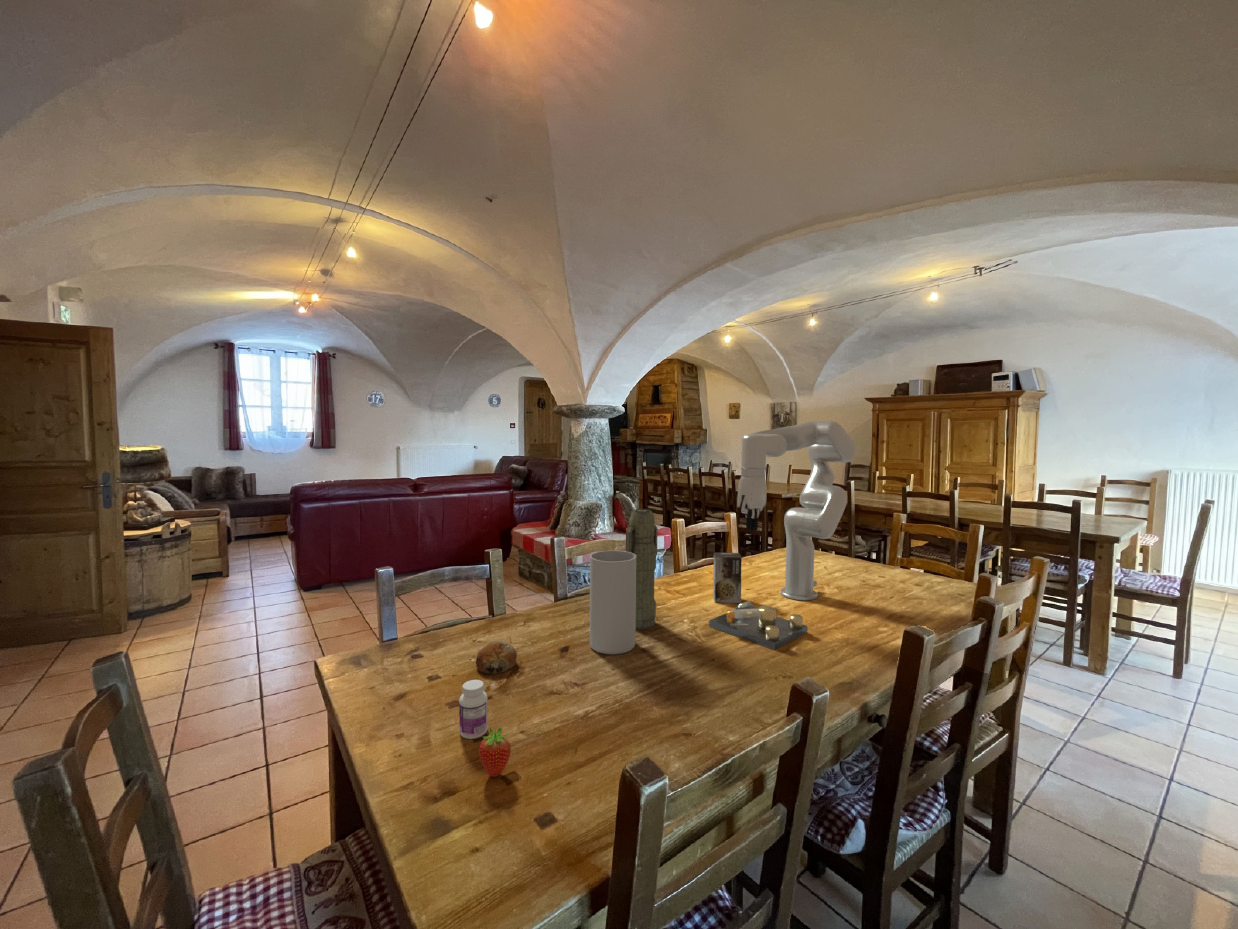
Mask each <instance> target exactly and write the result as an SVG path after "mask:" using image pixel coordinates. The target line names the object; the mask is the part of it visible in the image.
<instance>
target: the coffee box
mask: <svg viewBox="0 0 1238 929" xmlns="http://www.w3.org/2000/svg"><path fill="white" fill-rule="evenodd" d="M712 584H713V585H712V586H713V588H712V589H713V594H712V596H713V601H714V603H719V604H720V603H722V604H723V603H725V604H726V603H727V604H729V603H730V604H742V556H741V554H740V553H739V552H713V583H712Z"/></svg>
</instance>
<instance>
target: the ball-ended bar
mask: <svg viewBox="0 0 1238 929" xmlns="http://www.w3.org/2000/svg"><path fill="white" fill-rule="evenodd" d="M726 613H727V622H728V623H735V618H757V617H758V626H759V627H761V628H765V629H766V626H769V625H772V626H776V616H777V608H775V607H774V606H770V605H769V606H768V605H761V606H759V607H757V608H754V609H736V608H734V609H728V610H726Z"/></svg>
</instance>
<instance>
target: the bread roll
mask: <svg viewBox="0 0 1238 929" xmlns="http://www.w3.org/2000/svg"><path fill="white" fill-rule="evenodd" d="M517 658H518V653H517V651H516V649H515V648H514V646H513V645H512V644H510V643H509V642H507V641H505V640H503V639H492V640H491V639H490V640H489V641H488V642H486V643H485V645H483V646H482V647H481V648H480V649H479V650H478V651H477V654H476V657H475V659H476V660H475V661H476V662H475V665H476V666H475V667H476V669H478V671H479V672H481V673H482V674H491V675H495V674H500V673H505V672H507V671H509V670H511V669H513V667H515V665H516V662H517Z"/></svg>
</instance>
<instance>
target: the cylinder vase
mask: <svg viewBox="0 0 1238 929" xmlns="http://www.w3.org/2000/svg"><path fill="white" fill-rule="evenodd" d="M636 630H637V629H636V555H635V554H633V553H630V552H626V550H601V551H595V552H593V553H591V554H590V555H589V645H590V648H591V649H592V650H593V651H595V652H597V653H600V654H604V655H621V654H625V653H628V652H630V651H632V650H633V649H634V648H635V647H636Z"/></svg>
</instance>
